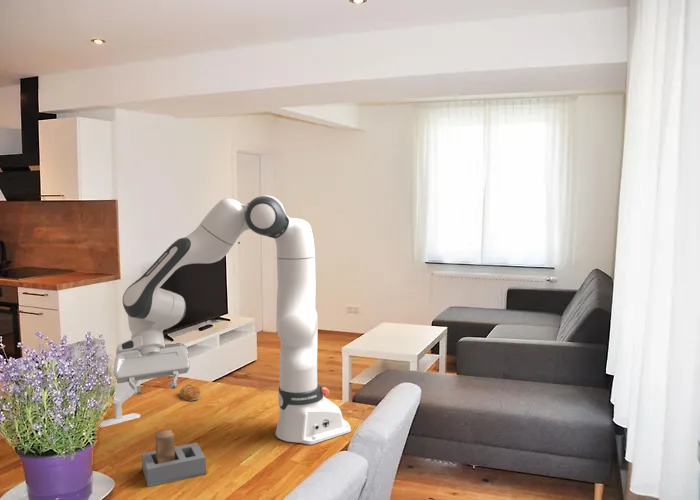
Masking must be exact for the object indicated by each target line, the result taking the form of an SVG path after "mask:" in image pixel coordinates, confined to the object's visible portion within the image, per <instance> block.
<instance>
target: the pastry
mask: <svg viewBox="0 0 700 500" xmlns="http://www.w3.org/2000/svg"><path fill="white" fill-rule="evenodd" d="M179 391H180V392H179V396H180V398H182V399H183V400H185V401H186V402H187V401H188V402H192V401H196V400H199V399H200V397H201V390H200V387H199V386H197V385H195V384H192V383H187V384H186V385H183V386H182V387H181V389H180V390H179Z"/></svg>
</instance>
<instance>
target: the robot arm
mask: <svg viewBox="0 0 700 500" xmlns="http://www.w3.org/2000/svg"><path fill="white" fill-rule="evenodd" d="M248 230H251V231H252V232H254V233H255V234H258V235H260V236H264V237H268V238H271V239H274V241H275V244H276V273H277V274H276V275H277V293H276V333H277V334H276V335H277V337H278V338H279V340H280V351H279V352H280V353H279V354H280V355H279V386H278V394H277V395H278V396H277V397H278V399H277V400H278V406H279V412H278V414H279V415H278V419H277V424H276V425H277V426H276V429H275V433H274V434H275V436H276V438H277V439H280V440H282V441H284V442H288V443H301V444H304V445H314V444H317V443H321V442H324V441H326V440H327V441H328V440H330V439H333V438H336V437H339V436H342V435H346V434H349V433H350V432H351V430H352V429H351V425H350V423H349V422H348V421H347V420H345V419H344V418H343V414H342V411H341V409H340V407H339V406H338V405H336V404H335V403H334V402H333V401H331V400H330V399H328V398H327V397H325V396H329V394H330V390H329V389H328V388H327V387H326V386H323V385H320V384H319V383H318V333H319V331H318V325H319V324H318V323H319V321H318V319H319V318H318V316H319V315H318V312H317V310H316V292H317V291H316V289H317V288H316V286H317V285H316V284H317V281H316V250H315V240H314V234H313V231H312V225H310V223H309V222H308V221H306V220H305V219H302V218H297V217H295V218H294V217H293V218H292V217H290V216H289V215H287V213H286V209H285V207H284V205H283V203H282V202H281V201H280V200H279V199H278V198H276V197H275V196H272V195H266V194H265V195H263V194H262V195H259V196H257V197H255V198H253V199H251V201H249V202H248V203H246V204H244V203H242V202H240V201H238V200H236V199H234V198H228V197H226V198H223V199H220V200H219V201H218V202H217V204H215V205H214V206H213V207H212V208H211V210H210V211H208V213H207V214H206V215H205V216H204V218H203V219H202V220H201V222H200V223H199V225H198V226H197V227H196V228H195V229H194V230H193V231H192V232H191V233H189V234H187V236H184V237H182V238H181V237H180V238H178V239H176V240H175V241H174V242H173V243H171V245H170V246H169V247H168V248H166V250H165V251H164V252H163V253H162V254H161V255H160V256H159V257H158V258H157V259H156V260H155V261H154V263H153V264H151V265H150V267H149V268H148V269H147V270H146V271H145V273H143V275H141V277H139V278H138V279H136V280H135V281H134V282H133V283H132V284H131V285H129V286H128V287H127V288H126V289H125V291H124V293H123V296H122V306H123V308H124V311H125V313H126V315H127V319H128V328H129V331H130V333H131V336H130V339H128V340H126V341H123V342H121V343H119V344H117V347H116V350H115V357H114V364H113V366H114V376H115V377H116V379H117V383H124V382H129V386H130V387H131V388H132V389H133V390H134V396H137V395H138V396H139V395H141V393H142V391H141V386H136V385H135V383H134V382H135V381H137V380H142V381H144V380H149V379H155V378H163V377H169V376H172V378H173V380H170V382H169V386H170V390H175V389H177V386H178V384H177V382H178V381H177V380H178V378H179V375H183V374H187V373H188V372H189V371H190V369H191V361H190V359H189V356H188V354H189V351H188V347H187V345H186V344H184V343H181V342H176V343H167V344H166V343H165V337H164V333H163V332H164V330H168V329H170V328H173V327H174V326H176V325H178V324H179V323H180V322H181V321H183V319H184V317H185V316H186V313H187V311H186V310H187V303H186V300H185V298H184V297H183V296H182V295H181V294H178V293H176V292H173V291H171V290H167V289H164V288H161V287H162V286H163V285H164V283H165V282H167V280H168V279H169V278H170V277H171V276H172V275H173V274H174V273H175V271H177V270H178V269H179V268H181V267H183V266H186V265H192V264H193V265H194V264H213V263H216V262H219V261H221V260H222V259H223V258H225V256H227V255H228V253H229V252H230V250H232V247H233V246H234V245H235V243H236V242H237V240H238V239H239V237H240V236H241V235H242V234H243V233H244V232H246V231H248Z"/></svg>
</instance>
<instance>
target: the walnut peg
mask: <svg viewBox="0 0 700 500" xmlns="http://www.w3.org/2000/svg"><path fill="white" fill-rule="evenodd" d="M154 439H155V451H156V464H159V463H164V462H169V461H173V460H175V447H176V446H175V434H174V432H173V430H172V429H168V430H163V431H158V432H156V431H155V433H154Z"/></svg>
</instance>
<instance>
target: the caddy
mask: <svg viewBox="0 0 700 500" xmlns="http://www.w3.org/2000/svg"><path fill="white" fill-rule="evenodd" d="M174 447H175V460H173V461H169V462H164V463H159V464H156V450H152V451H147V452H142V453H141V468H142V469H141V470H142V473H143V475H144V479H145V481H146V485H147V487H148V488H149V487H154V486H158V485H164V484H167V483H172V482H173V483H174V482H177V481H181V480H187V479H191V478H195V477H199V476H205V475H207V463H206V461H207V457H206V455H205V454H204V452H203V451H202V448H201V447H200V445H199V443H198V442H194V443H187V444H183V445H178V446H177V445H176V446H174Z"/></svg>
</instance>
